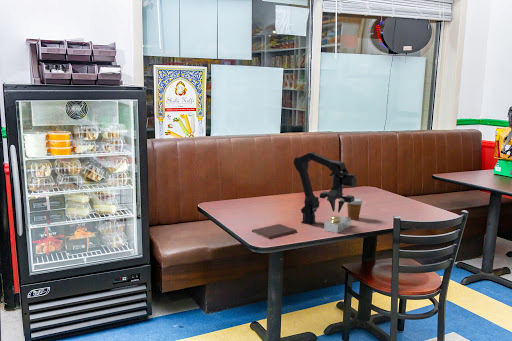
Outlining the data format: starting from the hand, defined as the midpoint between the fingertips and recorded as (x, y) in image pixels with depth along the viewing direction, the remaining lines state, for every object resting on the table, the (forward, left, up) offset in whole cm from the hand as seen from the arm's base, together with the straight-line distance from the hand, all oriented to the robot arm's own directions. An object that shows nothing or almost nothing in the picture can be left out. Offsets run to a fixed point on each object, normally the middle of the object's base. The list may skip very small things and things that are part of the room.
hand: (336, 211), depth 268 cm
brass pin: (0, 0, -10) cm, 10 cm away
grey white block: (0, +3, -10) cm, 10 cm away
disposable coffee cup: (0, +26, -10) cm, 28 cm away
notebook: (-25, -25, -11) cm, 37 cm away
